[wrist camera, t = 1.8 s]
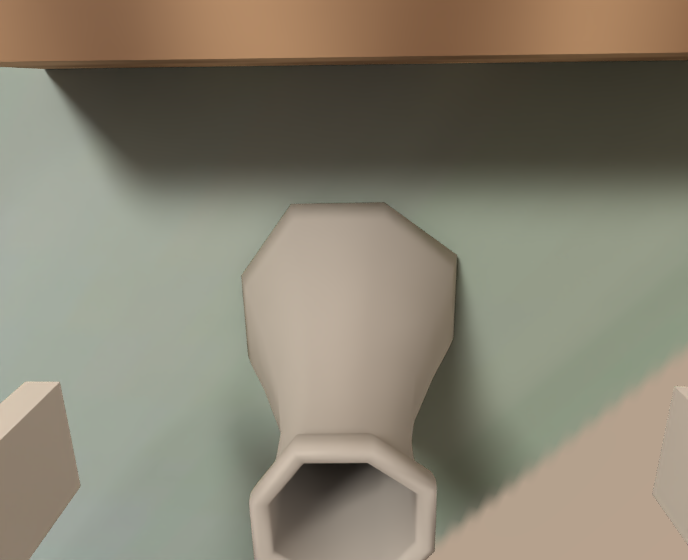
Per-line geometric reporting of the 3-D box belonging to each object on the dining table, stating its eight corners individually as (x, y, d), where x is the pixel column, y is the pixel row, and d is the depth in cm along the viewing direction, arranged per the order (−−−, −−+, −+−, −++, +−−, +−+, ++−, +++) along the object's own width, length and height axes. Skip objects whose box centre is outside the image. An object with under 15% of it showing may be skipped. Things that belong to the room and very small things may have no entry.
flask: (415, 422, 20) (469, 722, 11) (217, 367, 20) (90, 632, 10) (492, 234, 18) (647, 404, 8) (271, 165, 17) (170, 264, 8)
